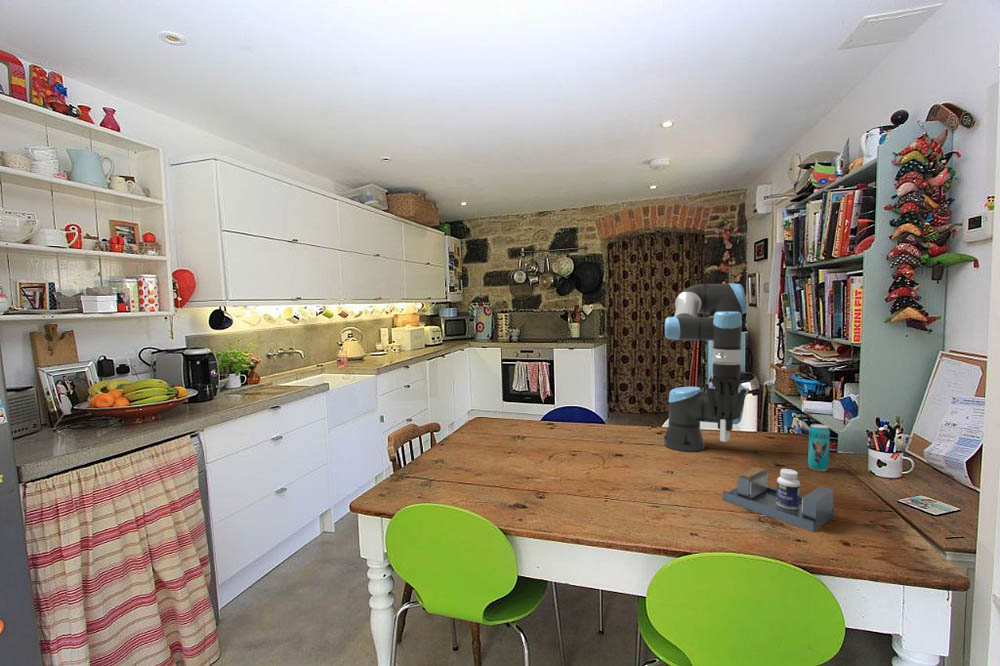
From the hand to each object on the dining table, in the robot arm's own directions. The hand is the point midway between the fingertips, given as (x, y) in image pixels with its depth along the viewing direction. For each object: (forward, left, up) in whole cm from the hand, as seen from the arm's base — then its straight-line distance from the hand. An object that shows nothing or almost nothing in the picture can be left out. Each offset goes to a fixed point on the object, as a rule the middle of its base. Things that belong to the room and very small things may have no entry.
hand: (724, 440), depth 138 cm
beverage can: (+10, +42, -16) cm, 46 cm away
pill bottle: (+18, 0, -14) cm, 23 cm away
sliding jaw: (+9, 0, -14) cm, 16 cm away
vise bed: (+15, 0, -16) cm, 22 cm away
